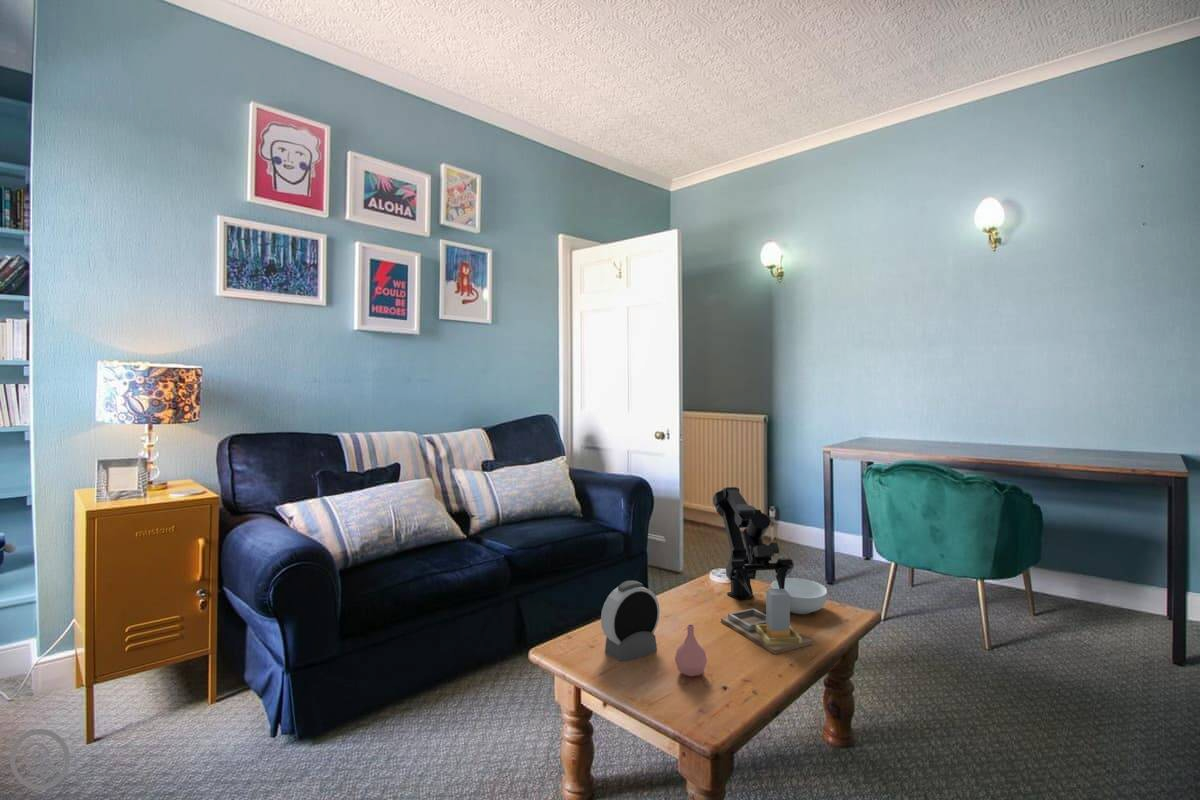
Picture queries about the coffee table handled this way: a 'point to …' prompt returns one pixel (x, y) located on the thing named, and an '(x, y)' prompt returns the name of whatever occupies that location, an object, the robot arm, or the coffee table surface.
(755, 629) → the station board
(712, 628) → the coffee table surface
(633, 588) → the alarm clock
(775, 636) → the grey square pillar
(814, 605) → the cereal bowl
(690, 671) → the pink vase
